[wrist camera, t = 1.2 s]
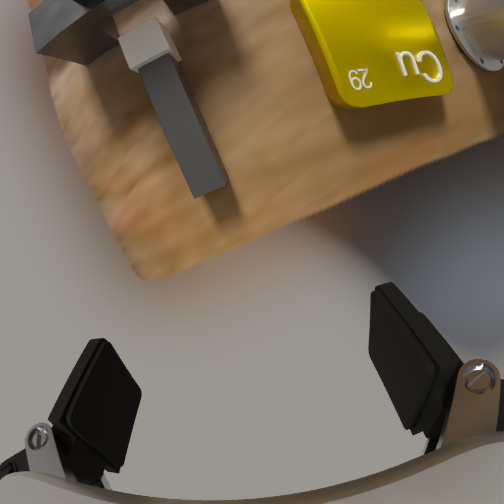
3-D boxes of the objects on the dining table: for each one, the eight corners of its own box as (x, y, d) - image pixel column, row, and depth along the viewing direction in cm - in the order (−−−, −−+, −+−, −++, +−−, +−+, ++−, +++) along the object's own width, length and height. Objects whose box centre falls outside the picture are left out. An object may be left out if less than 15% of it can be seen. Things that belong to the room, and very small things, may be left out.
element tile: (395, -10, 19) (413, -23, 14) (437, 94, 24) (460, 93, 20) (283, -3, 20) (289, -22, 16) (331, 113, 26) (346, 111, 22)
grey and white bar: (169, 32, 22) (155, 16, 17) (232, 176, 29) (229, 185, 24) (136, 49, 22) (117, 38, 18) (197, 191, 29) (188, 203, 25)
